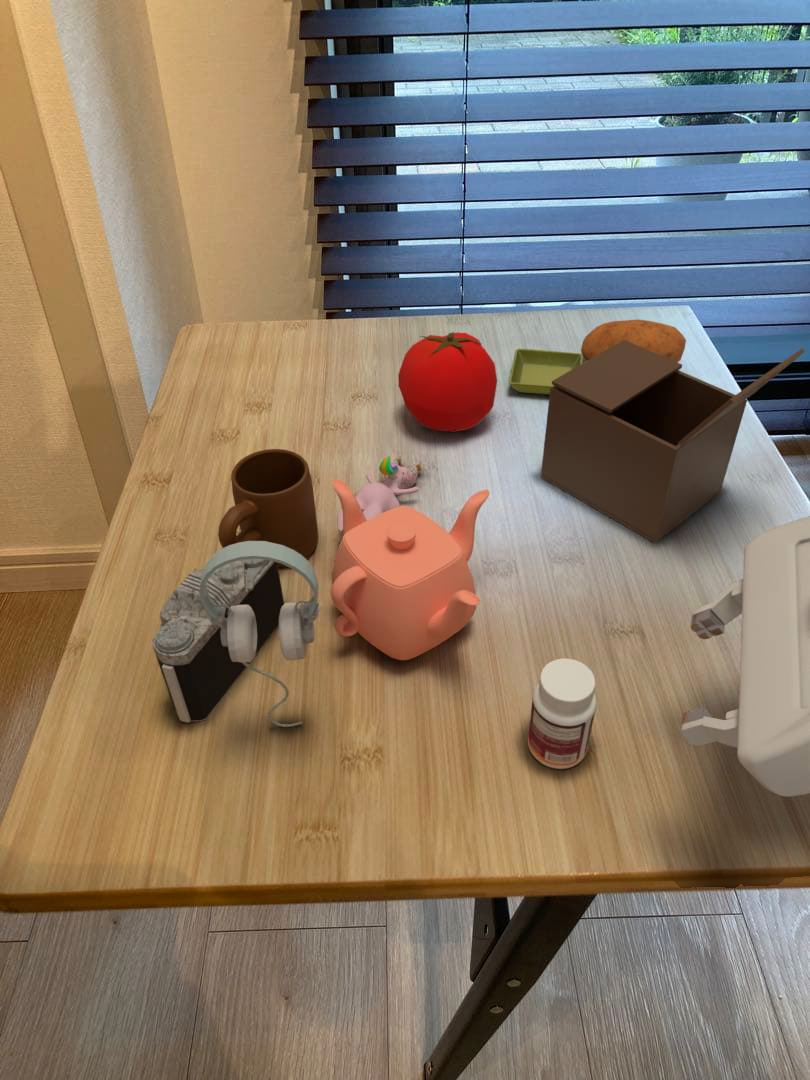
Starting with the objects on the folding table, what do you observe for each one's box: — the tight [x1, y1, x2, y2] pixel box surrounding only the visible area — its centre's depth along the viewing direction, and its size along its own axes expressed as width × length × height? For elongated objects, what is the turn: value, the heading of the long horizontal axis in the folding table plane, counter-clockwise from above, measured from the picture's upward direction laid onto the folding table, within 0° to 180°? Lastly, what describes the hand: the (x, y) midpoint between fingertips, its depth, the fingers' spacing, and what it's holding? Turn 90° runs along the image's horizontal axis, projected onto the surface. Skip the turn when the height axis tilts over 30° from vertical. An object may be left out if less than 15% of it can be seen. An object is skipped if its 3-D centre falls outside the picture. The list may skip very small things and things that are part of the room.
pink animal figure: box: [336, 454, 424, 532], centre depth 88 cm, size 6×6×15 cm
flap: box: [678, 347, 806, 446], centre depth 76 cm, size 7×12×1 cm
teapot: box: [330, 478, 490, 661], centre depth 74 cm, size 14×14×11 cm
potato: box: [580, 319, 687, 363], centre depth 107 cm, size 7×13×7 cm, turn 61°
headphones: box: [199, 541, 322, 728], centre depth 63 cm, size 8×4×20 cm, turn 92°
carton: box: [540, 340, 748, 544], centre depth 88 cm, size 15×12×12 cm
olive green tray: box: [508, 348, 584, 396], centre depth 107 cm, size 9×9×2 cm
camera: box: [151, 559, 285, 723], centre depth 72 cm, size 15×7×10 cm, turn 155°
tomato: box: [397, 331, 498, 433], centre depth 98 cm, size 12×12×11 cm
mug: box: [217, 448, 319, 568], centre depth 81 cm, size 12×8×9 cm, turn 153°
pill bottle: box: [527, 658, 597, 770], centre depth 65 cm, size 5×5×8 cm
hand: (691, 675), depth 58 cm, fingers open, 8 cm apart
